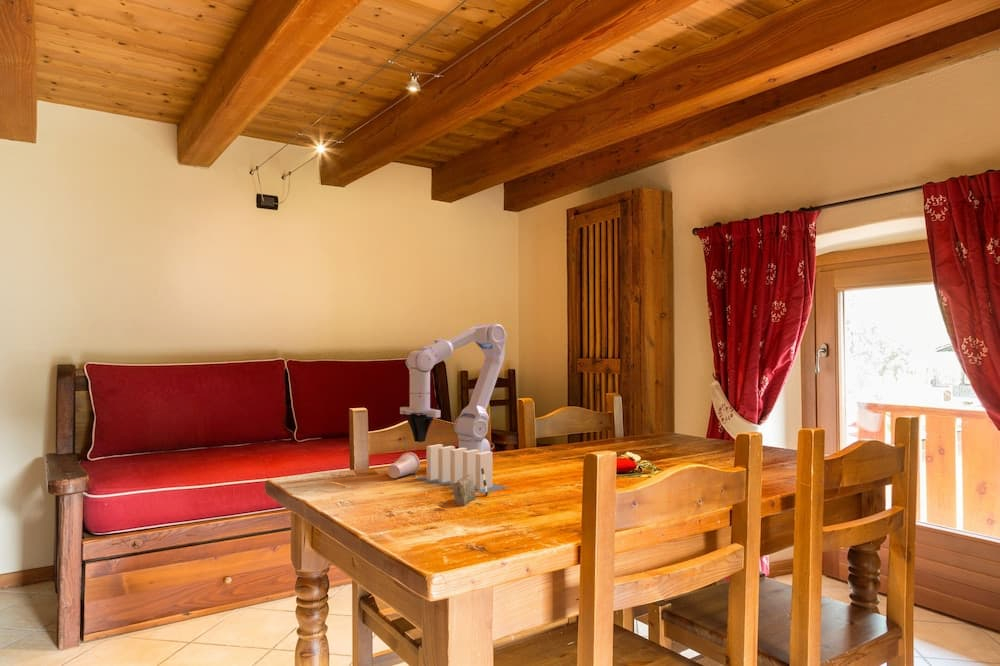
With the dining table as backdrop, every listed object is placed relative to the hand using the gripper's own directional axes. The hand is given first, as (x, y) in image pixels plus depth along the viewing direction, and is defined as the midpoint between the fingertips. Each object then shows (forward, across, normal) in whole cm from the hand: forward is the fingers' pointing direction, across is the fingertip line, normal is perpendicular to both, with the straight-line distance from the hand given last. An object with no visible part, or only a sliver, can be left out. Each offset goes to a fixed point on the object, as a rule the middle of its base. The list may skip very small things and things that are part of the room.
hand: (419, 441), depth 179 cm
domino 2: (+10, +10, 0) cm, 14 cm away
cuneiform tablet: (+10, +30, -11) cm, 33 cm away
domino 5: (+10, +24, 0) cm, 26 cm away
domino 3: (+10, +15, 0) cm, 18 cm away
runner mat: (+10, +15, 0) cm, 18 cm away
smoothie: (+7, -1, -9) cm, 11 cm away
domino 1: (+10, +6, 0) cm, 11 cm away
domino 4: (+10, +20, 0) cm, 22 cm away
